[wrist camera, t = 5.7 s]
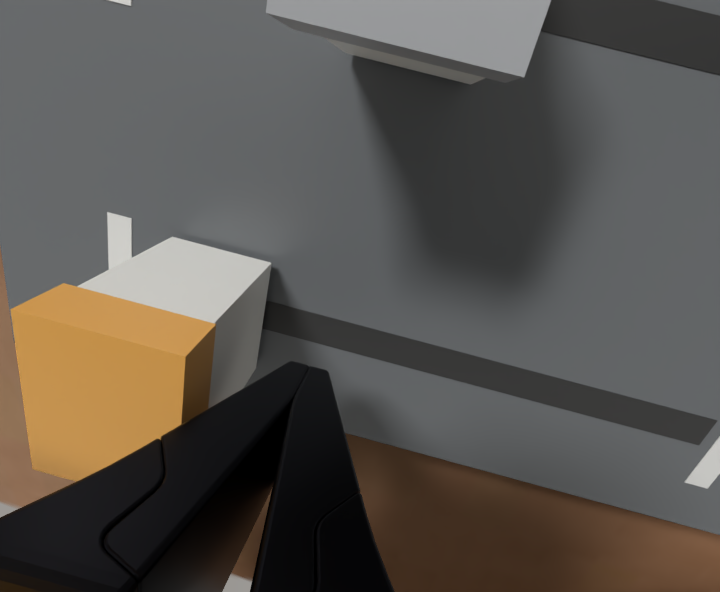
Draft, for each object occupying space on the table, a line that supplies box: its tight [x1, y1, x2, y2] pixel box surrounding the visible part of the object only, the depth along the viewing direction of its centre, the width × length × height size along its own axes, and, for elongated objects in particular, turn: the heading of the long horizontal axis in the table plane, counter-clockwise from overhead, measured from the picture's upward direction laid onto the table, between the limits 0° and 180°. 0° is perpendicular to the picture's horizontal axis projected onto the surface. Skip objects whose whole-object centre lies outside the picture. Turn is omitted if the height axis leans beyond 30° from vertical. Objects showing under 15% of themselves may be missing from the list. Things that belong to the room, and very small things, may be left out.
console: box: [0, 0, 720, 535], centre depth 10 cm, size 22×13×2 cm, turn 77°
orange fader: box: [10, 237, 272, 482], centre depth 9 cm, size 3×3×4 cm
